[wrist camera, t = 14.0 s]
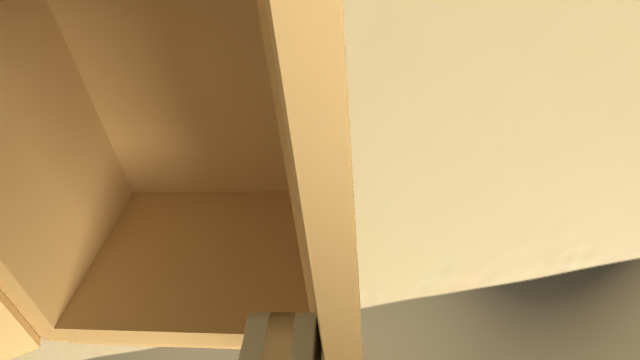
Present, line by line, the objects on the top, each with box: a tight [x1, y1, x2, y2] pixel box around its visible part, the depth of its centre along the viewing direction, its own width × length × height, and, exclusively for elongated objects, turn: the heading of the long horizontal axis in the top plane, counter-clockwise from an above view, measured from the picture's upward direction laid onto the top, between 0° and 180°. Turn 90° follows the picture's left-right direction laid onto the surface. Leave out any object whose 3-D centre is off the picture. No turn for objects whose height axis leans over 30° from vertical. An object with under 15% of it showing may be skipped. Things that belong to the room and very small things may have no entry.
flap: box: [264, 0, 363, 360], centre depth 12 cm, size 1×18×7 cm, turn 5°
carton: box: [0, 0, 315, 349], centre depth 20 cm, size 14×19×10 cm
